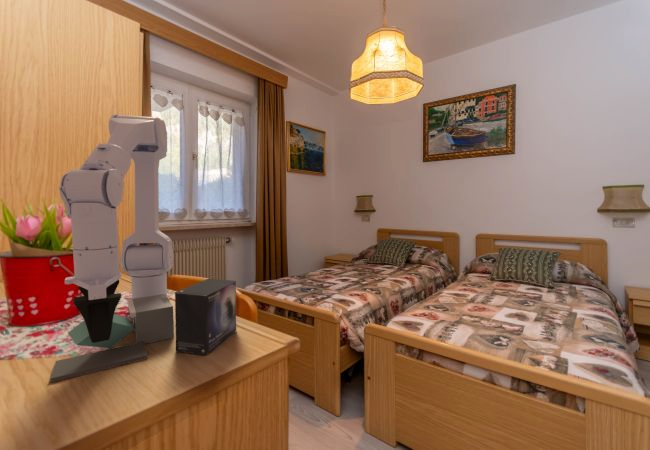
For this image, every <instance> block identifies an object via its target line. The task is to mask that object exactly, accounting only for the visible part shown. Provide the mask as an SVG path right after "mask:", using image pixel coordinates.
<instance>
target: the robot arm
mask: <svg viewBox="0 0 650 450" xmlns="http://www.w3.org/2000/svg"><path fill="white" fill-rule="evenodd" d="M108 131H109V135H110V137H109V138H108V140H107V143H98V144H97V146H95V148H94V149H93V150H92V152H91V153H90V154H89V156H88V157H87V158H86V159H85V160H84V162H83V164H82V165H81V166H80V167H79V168H78V169H71V170H70V171H68V172H66V173H64V174H63V176H62V177H61V178H60V185H59V187H58V190H59V196H60V199H61V200H62V202H63V205H64V207H65V215H66V216H67V218H68V219H69V220H70V223H71V224H70V225H71V239H72V240H71V242H72V254H73V255H72V256H73V270H74V271H73V272H74V276H68V277H65V279H64V285H72V284H73V285H76V286H77V289H78V290H79V291H80V293H81V294H82V295H81V296H75V297H73V299H72V303H73V305H74V308H76V310H77V311H78V312H79V313H80V315H81V317H82V318H83V321H85V323H86V326H87V330H88V333H89V336H90V339H91V341H92V343H96V342H101V341H106V340H109V338H110V335H111V329H112V322H113V316H114V314H115V311H116V309H117V307H118V304H119V303H120V300H121V298H122V292H117V293H116V291H117V288H118V286H119V284H120V279H121V278H122V272H121V270H120V268H121V269H122V270H123V272H125V273H126V274H127V276H128V277H130V283H131V284H130V285H131V286H130V287H131V298H132V299H134V298H141V297H148V296H154V295H161V294H166V296H167V297H168V284H167V282H168V281H167V272H169V271H170V270H171V269H172V268H173V266H174V259H175V258H174V257H175V256H174V255H175V254H174V248H173V241H172V239H171V237H170V236H168V235H167V234H165V233H164V232H162V231H161V230H160V222H159V221H160V220H159V219H160V217H159V216H160V213H159V212H160V211H159V210H160V209H159V206H160V205H159V203H160V201H159V197H160V196H159V193H160V192H159V166H160V161H161V160H162V159H164V158H166V157H167V152H168V132H167V126H166V123H165V120H164V119H163V118H162V116H143V115H142V116H139V115H126V114H125V115H124V114H123V115H120V114H118V113H113V114H112V115H111V116H110V117H109V120H108ZM131 160H132V161H133V162H134V232H133V233H130V234H129V235H128V236H126V238H125V239H123V241H122V249H121V252H120V253H119V236H118V234H119V233H118V232H119V231H118V213H117V207H119V206H120V204H121V203H122V202H123V195H124V187H125V182H124V178H125V177H126V175H127V173H128V171H129V169H130V167H132V166H131V165H132V161H131ZM139 244H140V245H139ZM141 244H142V245H141ZM120 266H121V267H120ZM130 318H131V319H133V317H130Z"/></svg>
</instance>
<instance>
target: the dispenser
mask: <svg viewBox="0 0 650 450" xmlns="http://www.w3.org/2000/svg"><path fill="white" fill-rule="evenodd" d="M126 300H127V307H128V312H129V316H130V318H131V317H133V318H132V324H133V325H134V326H135V327H136V328H135V329H134V330H133V333H135V343H139V342H143V341H144V344H145V345H146V344H150V343H154V342H159V341H163V340H169V339H171V338H174V337H175V328H174V327H175V324H174V305H173V303H172V302H171V301H170V299H169V297H168V295H167V296H166V294H161V295H154V296H148V297H141V298H134V299H132V297H131V298H127V299H126Z"/></svg>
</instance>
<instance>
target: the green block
mask: <svg viewBox="0 0 650 450" xmlns="http://www.w3.org/2000/svg"><path fill="white" fill-rule="evenodd" d="M135 328H136V327H135V326H134V325H133V321H131V320H130V318H128V317H124V316H122V315H118V314H117V313H116V314H115V313H114V316H113V322H112V329H111V335H110V338H109V340H106V341H101V342H96V343H92V341H91V339H90V336H89V333H88V330H87V326H86V323H85V321H84V320H83V321H81V322H80V323H78V324H77V325H76V326H75V327H73V328H72V329H71V330H69V331H68V332H67V334H68V336H69V337H70V338H71V339H72V341H73V342H74V344H75V345H76V346H83V347H95V348H100V349H102V348H103V349H104V348H105V349H112V348H114V347H115V346H116V345H117V344H118V343H119V342H121V341H122V340H123V339H125V337H127V336H128V335H129V334H131V333H132V332H134V329H135Z"/></svg>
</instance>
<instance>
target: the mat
mask: <svg viewBox="0 0 650 450" xmlns="http://www.w3.org/2000/svg"><path fill="white" fill-rule="evenodd" d="M146 359H148V353H147V349H146V344H144V341H143V342H139V343H137V342H135V343H130V344H125V345H120V346H117V347H112V348H106V349H103V350H99V351H94V352H90V353H86V354H85V353H84V354H80V355H76V356H72V357H68V358H62V359H58V360H55V362H54V365H53V369H52V372H51V376H50V379H49V380H50V382H49V383H55V382H56V383H57V382H58V381H59V382H60V381H62V380H67V379H71V378H74V377H79V376H84V375H88V374H90V373H94V372H99V371H103V370H107V369H112V368H116V367H118V366H122V365H127V364H130V363H134V362H138V361H143V360H146Z"/></svg>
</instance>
